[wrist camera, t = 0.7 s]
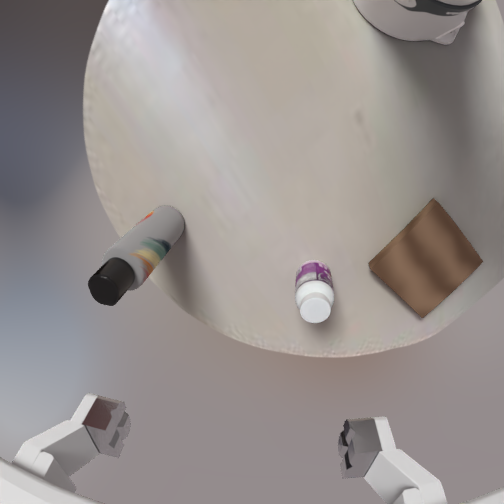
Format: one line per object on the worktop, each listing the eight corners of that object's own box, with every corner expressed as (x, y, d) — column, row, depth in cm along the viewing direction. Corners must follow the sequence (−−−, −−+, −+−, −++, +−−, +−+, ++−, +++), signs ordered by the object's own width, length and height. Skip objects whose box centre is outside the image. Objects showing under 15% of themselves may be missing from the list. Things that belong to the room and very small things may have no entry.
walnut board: (433, 198, 41) (438, 202, 39) (477, 256, 44) (483, 261, 42) (368, 263, 47) (370, 269, 45) (419, 311, 49) (422, 318, 48)
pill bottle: (336, 279, 49) (343, 317, 40) (307, 294, 51) (308, 333, 42) (319, 252, 47) (323, 286, 39) (289, 268, 49) (286, 305, 40)
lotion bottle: (144, 224, 49) (73, 292, 31) (162, 197, 47) (89, 257, 29) (173, 246, 50) (113, 324, 32) (192, 220, 48) (133, 293, 30)
